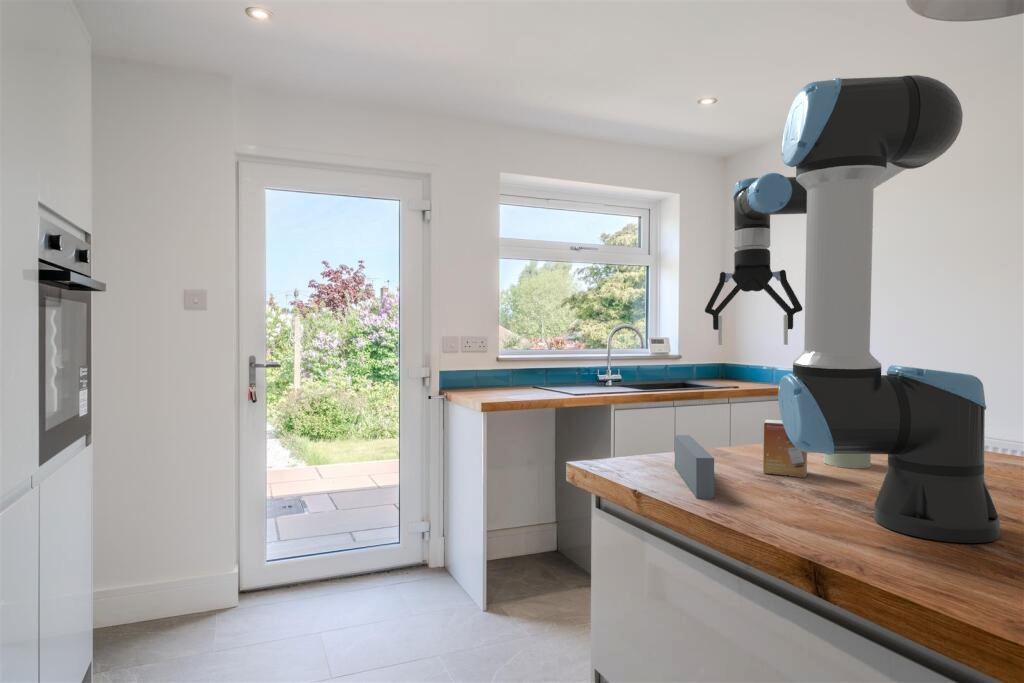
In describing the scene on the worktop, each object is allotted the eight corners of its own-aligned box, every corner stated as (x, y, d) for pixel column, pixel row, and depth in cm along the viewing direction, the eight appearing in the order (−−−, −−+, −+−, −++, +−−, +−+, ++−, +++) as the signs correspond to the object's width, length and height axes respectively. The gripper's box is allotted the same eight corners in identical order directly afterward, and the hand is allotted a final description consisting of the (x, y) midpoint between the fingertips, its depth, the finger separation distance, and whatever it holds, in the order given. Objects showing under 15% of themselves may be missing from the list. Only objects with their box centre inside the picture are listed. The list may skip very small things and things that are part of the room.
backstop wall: (714, 498, 106) (714, 458, 106) (696, 498, 106) (696, 457, 106) (689, 468, 130) (689, 435, 130) (674, 467, 130) (674, 434, 130)
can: (880, 468, 128) (880, 411, 128) (836, 468, 129) (836, 411, 128) (856, 459, 138) (856, 406, 138) (815, 459, 138) (815, 406, 138)
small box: (762, 474, 124) (762, 422, 124) (765, 468, 129) (765, 418, 129) (806, 478, 121) (806, 424, 120) (807, 472, 126) (807, 420, 125)
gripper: (811, 249, 137) (811, 344, 137) (694, 254, 145) (695, 344, 146) (816, 244, 130) (816, 344, 130) (693, 250, 138) (693, 344, 138)
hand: (752, 344), depth 138 cm, fingers open, 13 cm apart
